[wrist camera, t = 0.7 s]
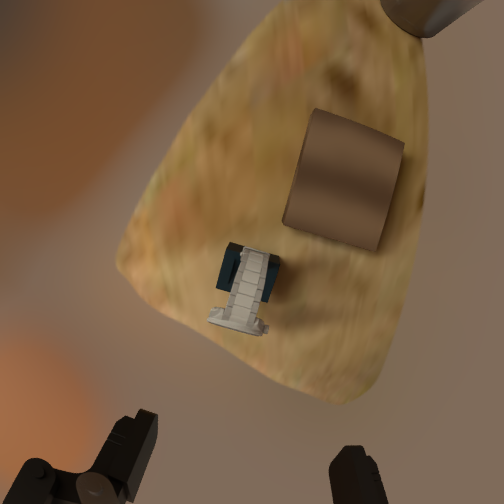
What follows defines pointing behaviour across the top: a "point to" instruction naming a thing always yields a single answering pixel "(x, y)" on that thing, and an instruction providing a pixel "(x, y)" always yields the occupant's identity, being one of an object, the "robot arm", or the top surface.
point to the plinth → (343, 181)
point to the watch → (245, 288)
